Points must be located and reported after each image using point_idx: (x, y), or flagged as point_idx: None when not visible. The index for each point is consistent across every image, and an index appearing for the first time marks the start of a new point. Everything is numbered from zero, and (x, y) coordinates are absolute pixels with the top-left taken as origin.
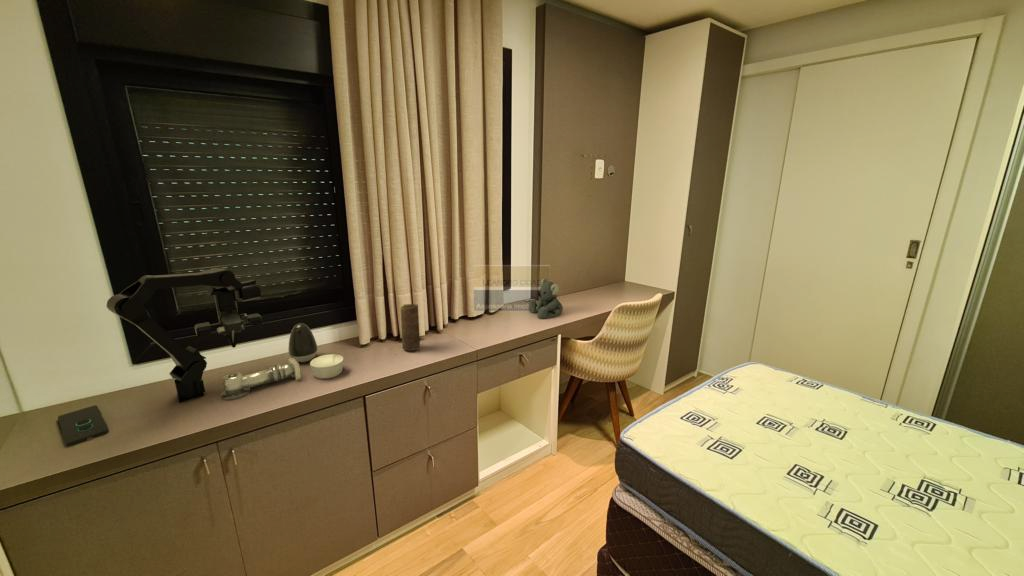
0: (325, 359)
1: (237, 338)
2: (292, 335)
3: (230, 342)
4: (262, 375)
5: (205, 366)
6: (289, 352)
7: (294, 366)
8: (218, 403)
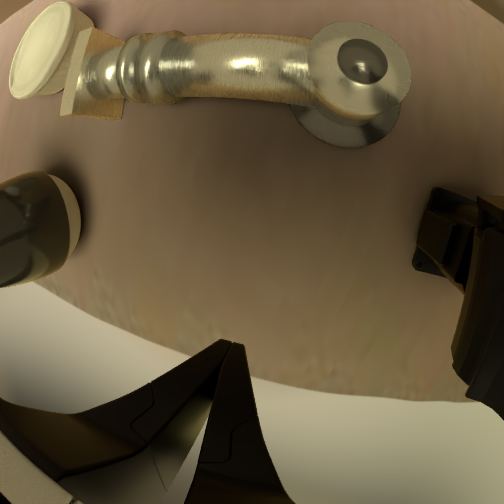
0: (31, 57)
1: (151, 382)
2: None
3: (244, 386)
4: (217, 34)
5: (480, 233)
6: (59, 226)
7: (96, 28)
8: (414, 74)
